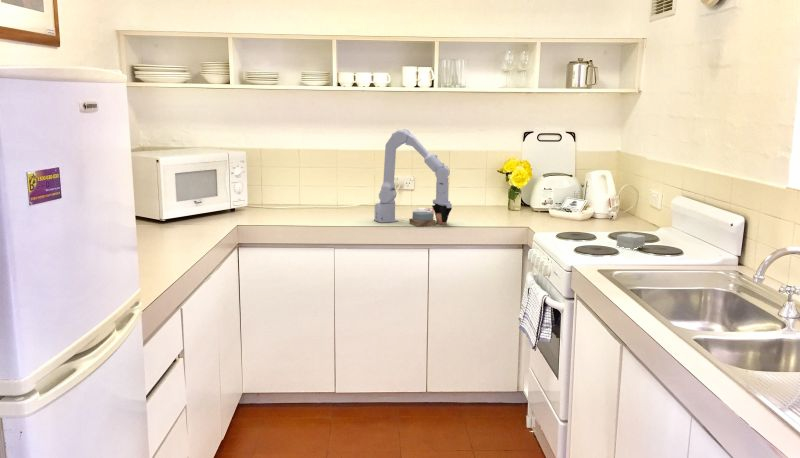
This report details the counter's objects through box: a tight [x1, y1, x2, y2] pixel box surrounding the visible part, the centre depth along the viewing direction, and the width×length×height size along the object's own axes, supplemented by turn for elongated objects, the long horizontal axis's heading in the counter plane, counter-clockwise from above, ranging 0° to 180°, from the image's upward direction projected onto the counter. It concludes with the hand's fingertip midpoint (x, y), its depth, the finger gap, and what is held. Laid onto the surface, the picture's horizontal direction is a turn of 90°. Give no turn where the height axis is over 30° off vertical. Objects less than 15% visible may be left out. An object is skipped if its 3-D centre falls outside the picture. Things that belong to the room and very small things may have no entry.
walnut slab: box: [408, 218, 437, 228], centre depth 314 cm, size 9×9×3 cm
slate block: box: [412, 211, 434, 221], centre depth 314 cm, size 7×7×3 cm
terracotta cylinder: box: [435, 213, 448, 226], centre depth 316 cm, size 5×5×5 cm
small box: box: [616, 232, 646, 249], centre depth 270 cm, size 8×8×5 cm
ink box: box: [411, 207, 435, 218], centre depth 327 cm, size 8×5×12 cm
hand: (441, 221), depth 316 cm, fingers closed on terracotta cylinder, 5 cm apart
